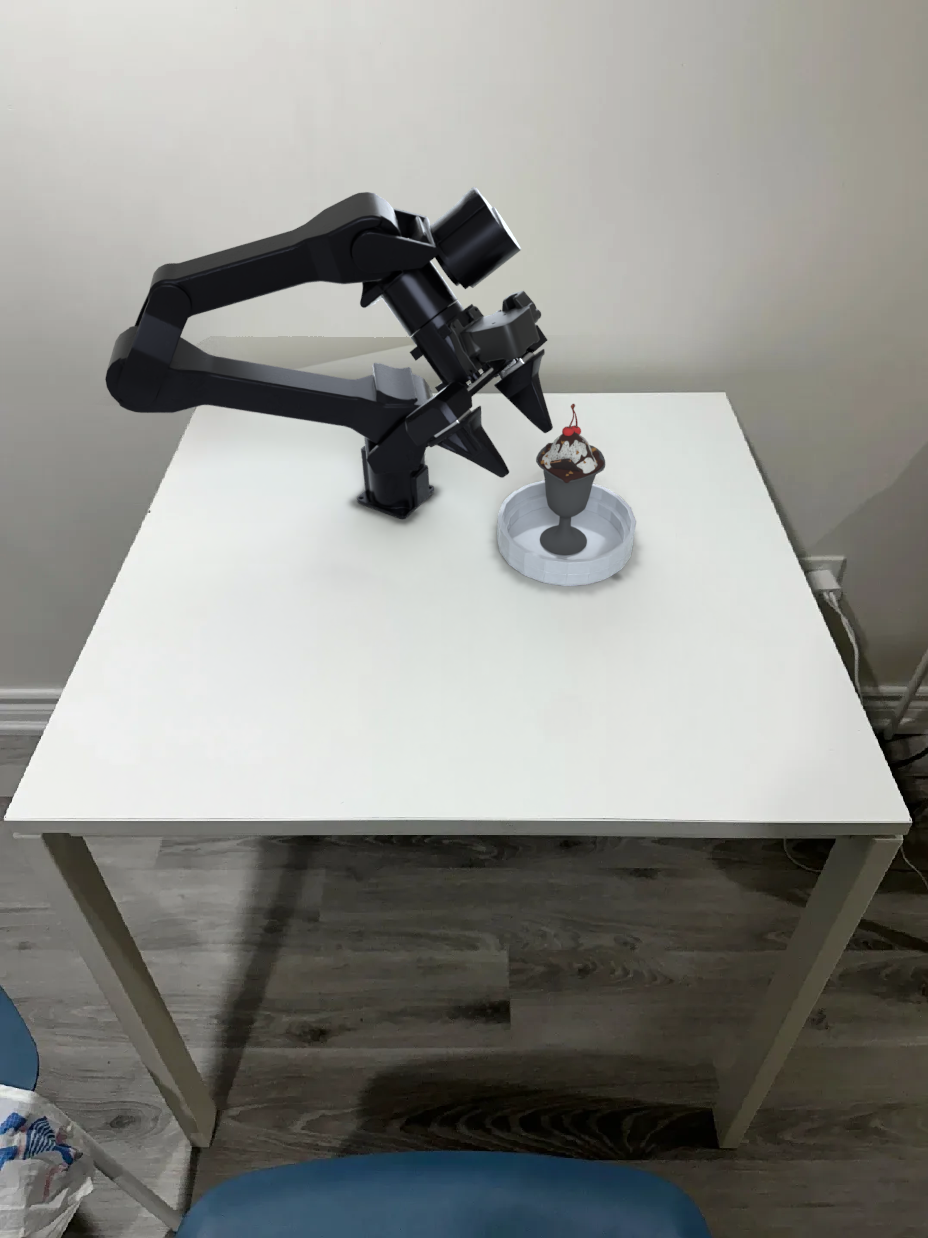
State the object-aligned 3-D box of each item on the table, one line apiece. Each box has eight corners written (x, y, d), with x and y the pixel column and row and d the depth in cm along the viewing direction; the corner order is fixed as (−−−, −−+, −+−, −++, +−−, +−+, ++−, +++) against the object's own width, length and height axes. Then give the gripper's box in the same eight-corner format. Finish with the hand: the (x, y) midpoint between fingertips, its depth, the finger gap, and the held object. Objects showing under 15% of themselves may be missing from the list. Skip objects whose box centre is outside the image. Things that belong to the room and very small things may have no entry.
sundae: (568, 513, 96) (580, 389, 86) (607, 546, 92) (625, 420, 82) (518, 534, 94) (524, 409, 83) (557, 569, 90) (568, 442, 79)
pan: (473, 560, 92) (473, 533, 89) (535, 491, 100) (537, 465, 98) (597, 607, 86) (600, 580, 84) (651, 530, 95) (656, 503, 93)
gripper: (432, 315, 73) (540, 469, 77) (537, 239, 84) (627, 376, 88) (359, 375, 81) (460, 511, 85) (464, 299, 92) (549, 422, 96)
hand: (528, 452), depth 88 cm, fingers open, 9 cm apart
